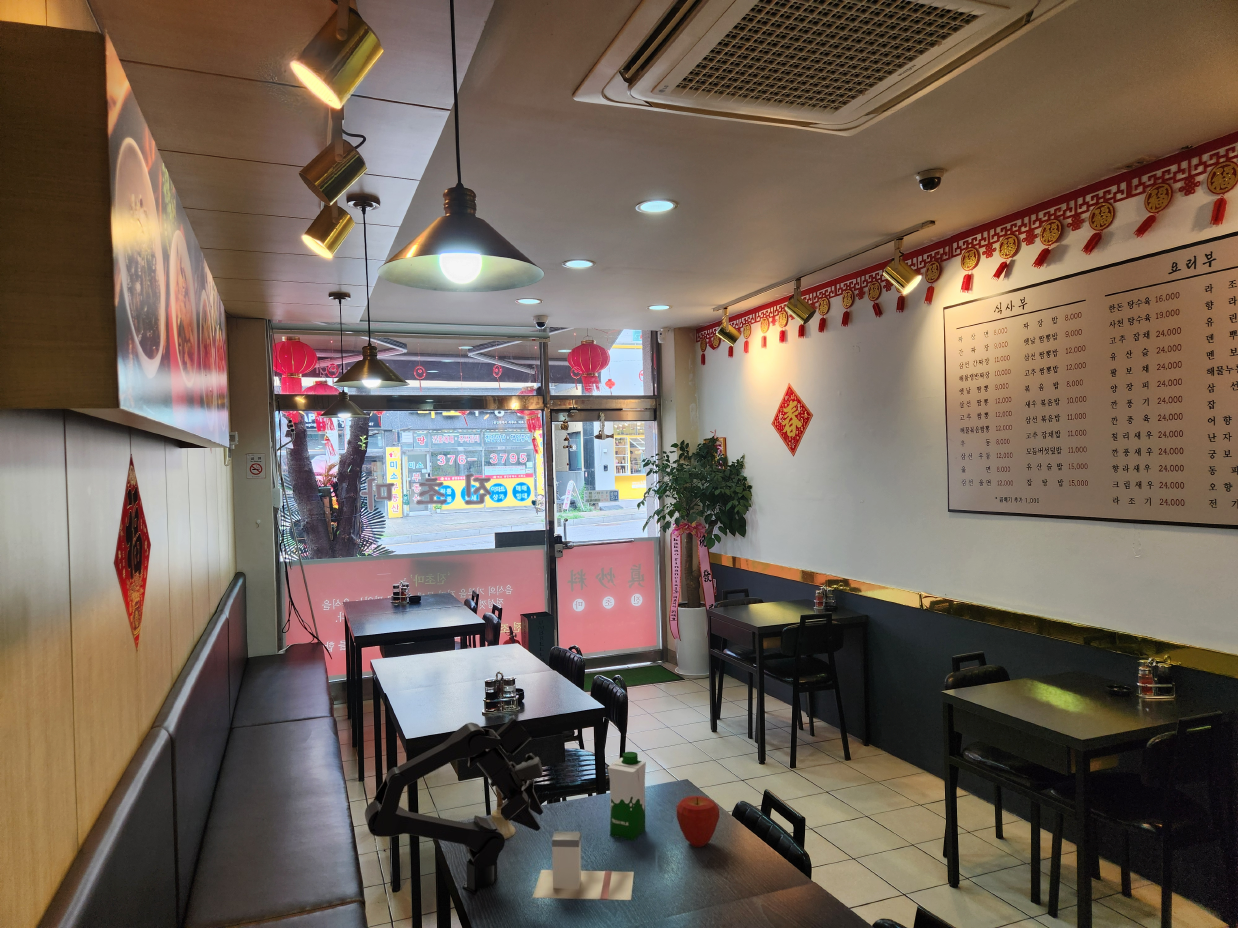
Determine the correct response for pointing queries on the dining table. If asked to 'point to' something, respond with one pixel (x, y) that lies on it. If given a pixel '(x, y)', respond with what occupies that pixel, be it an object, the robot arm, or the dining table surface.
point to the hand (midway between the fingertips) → (540, 821)
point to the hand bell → (502, 819)
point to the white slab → (566, 859)
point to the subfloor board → (588, 886)
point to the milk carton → (627, 796)
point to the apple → (697, 819)
